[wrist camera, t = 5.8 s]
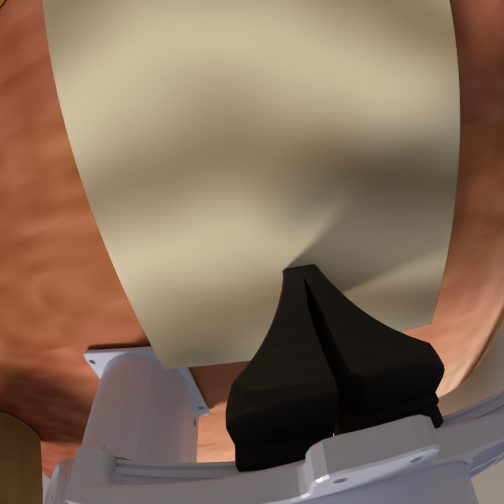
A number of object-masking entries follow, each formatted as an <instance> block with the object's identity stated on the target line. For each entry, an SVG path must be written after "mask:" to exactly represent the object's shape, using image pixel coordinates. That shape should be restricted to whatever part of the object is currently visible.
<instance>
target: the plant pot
mask: <svg viewBox="0 0 504 504" xmlns="http://www.w3.org/2000/svg"><path fill="white" fill-rule="evenodd" d="M0 504H43V488H42V460H41V445H40V437H39V435H38V434H37V433H36V432H35V431H34V430H33V429H32V428H31V427H30V426H28V425H27V424H26V423H24V422H23V421H21V420H19V419H18V418H16V417H14V416H12V415H10V414H7V413H4V412H0Z"/></svg>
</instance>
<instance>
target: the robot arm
mask: <svg viewBox="0 0 504 504" xmlns="http://www.w3.org/2000/svg"><path fill="white" fill-rule="evenodd" d="M282 273H283V283H282V290H281V295H280V299H279V303H278V306H277V310H276V313H275V316H274V318H273V321H272V324H271V326H270V328H269V330H268V333H267V335H266V336H265V338H264V340H263V342H262V344H261V346H260V348H259V349H258V351H257V352H256V354H255V355H254V357H253V358H252V360H251V361H250V363H249V364H248V365H247V367H246V368H245V369H244V370H243V372H242V373H241V374H240V375H239V376H238V377H237V379H236V380H235V381H234V382H233V384H232V387H231V390H230V394H229V397H228V401H227V407H226V428H227V431H228V433H229V435H230V437H231V439H232V441H233V443H234V444H235V461H231V462H207V463H197V441H198V422H199V416H207V415H209V408H208V406H207V404H206V402H205V401H204V399H203V397H202V395H201V393H200V391H199V389H198V387H197V385H196V383H195V381H194V378H193V376H192V374H191V372H190V370H189V368H188V367H186V368H173V369H164V368H163V366H162V365H161V363H160V361H159V359H158V357H157V355H156V354H155V352H154V350H153V348H152V346H147V347H134V348H119V349H101V350H86V351H85V353H84V357H85V359H86V360H87V362H88V363H89V364H90V366H91V367H92V369H93V370H94V371H95V373H96V374H97V376H98V377H99V378H100V381H99V384H98V388H97V391H96V394H95V398H94V401H93V404H92V408H91V411H90V415H89V418H88V422H87V426H86V429H85V433H84V437H83V441H82V445H81V447H77V451H76V455H75V459H74V460H72V459H70V458H68V459H66V460H65V461H62V462H59V463H58V464H57V465H56V467H55V469H54V472H53V474H52V477H51V480H50V483H49V487H48V490H47V494H46V499H45V503H44V504H479V503H478V500H477V497H476V494H475V491H474V488H473V485H472V482H471V479H470V478H472V477H474V476H476V475H478V474H479V473H481V472H483V471H485V470H487V469H488V468H490V467H491V466H493V465H495V464H497V463H498V462H500V461H501V460H503V459H504V390H503V391H501V392H499V393H497V394H495V395H493V396H491V397H488V398H486V399H484V400H482V401H480V402H478V403H475V404H473V405H471V406H468V407H466V408H464V409H461V410H459V411H456V412H454V413H451V414H449V415H446V416H444V417H442V416H441V413H440V411H439V408H438V406H437V404H438V402H439V400H438V397H437V395H436V393H435V392H436V390H437V388H438V386H439V384H440V382H441V379H442V377H443V374H444V371H445V370H444V365H443V363H442V361H441V359H440V357H439V356H438V354H437V352H436V351H435V350H434V348H433V347H432V346H431V344H430V343H428V342H425V341H422V340H419V339H416V338H413V337H410V336H408V335H406V334H403V333H401V332H399V331H397V330H395V329H393V328H391V327H389V326H387V325H385V324H383V323H382V322H380V321H378V320H376V319H375V318H373V317H371V316H370V315H369V314H367V313H366V312H364V311H363V310H362V309H360V308H359V307H358V306H356V305H355V304H354V303H353V302H352V301H350V300H349V299H348V298H347V297H346V296H345V295H344V294H342V293H341V292H340V291H339V290H338V289H337V288H336V287H335V286H334V285H333V284H332V283H331V282H330V281H329V280H328V278H327V277H326V276H325V275H324V274H323V273H322V272H321V271H320V269H319V268H318V267H317V266H316V265H315V264H310V265H304V266H298V267H292V268H286V269H284V270H283V271H282ZM333 433H334V437H333Z"/></svg>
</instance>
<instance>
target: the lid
mask: <svg viewBox="0 0 504 504" xmlns="http://www.w3.org/2000/svg"><path fill="white" fill-rule="evenodd" d="M43 8H44V17H45V25H46V32H47V39H48V46H49V52H50V58H51V63H52V68H53V74H54V79H55V83H56V88H57V93H58V97H59V101H60V106H61V110H62V114H63V118H64V122H65V126H66V129H67V133H68V137H69V140H70V144H71V147H72V151H73V154H74V158H75V161H76V164H77V167H78V171H79V174H80V177H81V180H82V183H83V186H84V189H85V192H86V195H87V198H88V201H89V204H90V206H91V209H92V212H93V215H94V217H95V220H96V223H97V226H98V228H99V231H100V233H101V236H102V238H103V241H104V244H105V246H106V249H107V251H108V253H109V256H110V258H111V261H112V263H113V265H114V268H115V270H116V272H117V275H118V277H119V279H120V282H121V284H122V286H123V288H124V291H125V293H126V295H127V297H128V299H129V301H130V304H131V306H132V308H133V310H134V312H135V314H136V316H137V318H138V320H139V322H140V324H141V326H142V328H143V330H144V332H145V334H146V336H147V338H148V340H149V342H150V344H151V346H152V348H153V350H154V352H155V354H156V355H157V357H158V359H159V361H160V363H161V365H162V366H163V368H164V369H173V368H186V367H197V366H207V365H217V364H226V363H235V362H243V361H250V360H252V358H253V357H254V355H255V354H256V352H257V351H258V349H259V348H260V346H261V344H262V342H263V340H264V338H265V336H266V335H267V333H268V330H269V328H270V326H271V324H272V321H273V318H274V316H275V313H276V310H277V306H278V303H279V299H280V295H281V290H282V283H283V273H282V271H283V270H284V269H286V268H292V267H298V266H304V265H310V264H315V265H316V266H317V267H318V268H319V269H320V271H321V272H322V273H323V274H324V275H325V276H326V277H327V278H328V280H329V281H330V282H331V283H332V284H333V285H334V286H335V287H336V288H337V289H338V290H339V291H340V292H341V293H342V294H344V295H345V296H346V297H347V298H348V299H349V300H350V301H352V302H353V303H354V304H355V305H356V306H358V307H359V308H360V309H362V310H363V311H364V312H366V313H367V314H369V315H370V316H371V317H373V318H375V319H376V320H378V321H380V322H382V323H383V324H385V325H387V326H389V327H391V328H393V329H395V330H397V331H399V332H401V331H405V330H409V329H413V328H417V327H420V326H424V325H428V324H431V323H432V319H433V315H434V312H435V308H436V304H437V300H438V296H439V292H440V287H441V283H442V278H443V274H444V269H445V264H446V259H447V254H448V248H449V242H450V236H451V230H452V223H453V216H454V208H455V199H456V190H457V179H458V166H459V147H460V90H459V72H458V59H457V49H456V40H455V32H454V25H453V18H452V12H451V6H450V1H449V0H43Z"/></svg>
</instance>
